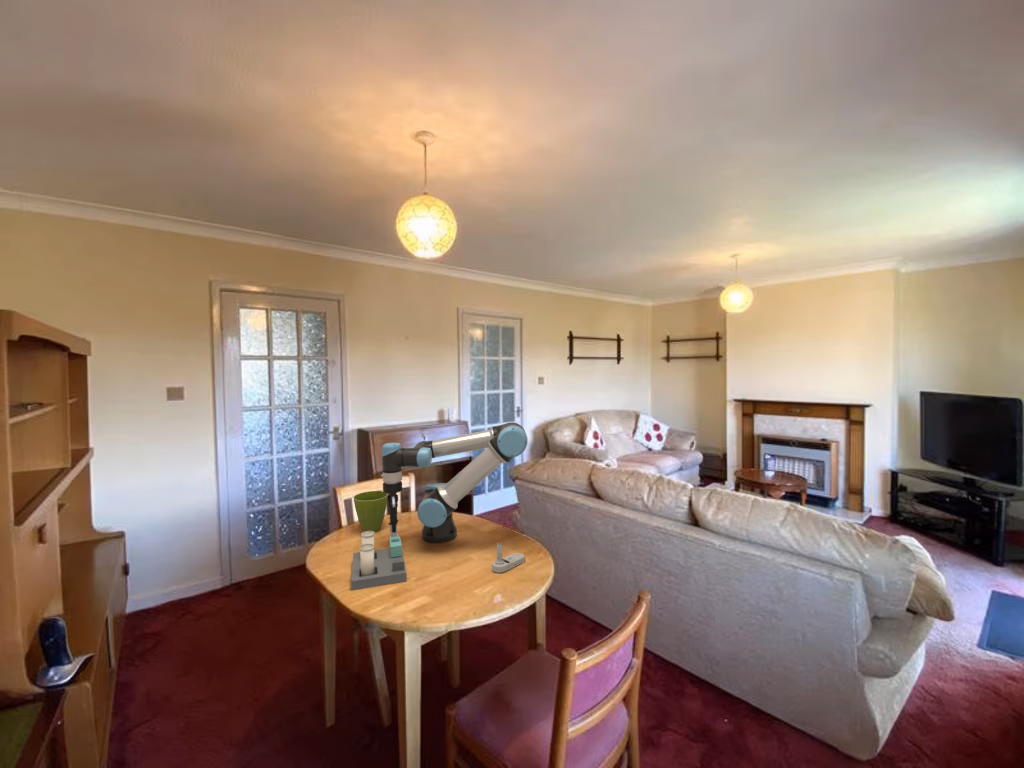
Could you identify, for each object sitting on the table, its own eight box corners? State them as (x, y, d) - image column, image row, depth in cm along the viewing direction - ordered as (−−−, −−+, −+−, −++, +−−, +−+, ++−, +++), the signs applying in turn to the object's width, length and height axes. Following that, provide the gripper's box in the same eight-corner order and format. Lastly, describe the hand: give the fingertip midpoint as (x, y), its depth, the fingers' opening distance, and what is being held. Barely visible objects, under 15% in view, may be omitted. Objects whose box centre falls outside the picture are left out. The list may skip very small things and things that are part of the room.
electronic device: (527, 536, 169) (499, 547, 158) (527, 562, 169) (499, 575, 158) (517, 533, 173) (489, 544, 162) (517, 558, 173) (489, 570, 162)
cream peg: (374, 575, 159) (373, 542, 159) (375, 581, 155) (374, 547, 154) (360, 578, 157) (359, 545, 157) (361, 584, 153) (360, 550, 152)
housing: (401, 553, 178) (401, 538, 177) (406, 581, 155) (406, 564, 155) (353, 560, 172) (353, 545, 172) (351, 590, 149) (350, 572, 149)
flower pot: (387, 534, 198) (386, 499, 197) (352, 538, 195) (351, 501, 194) (389, 523, 213) (388, 489, 212) (356, 526, 209) (355, 492, 209)
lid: (400, 545, 177) (399, 533, 177) (402, 555, 168) (401, 543, 168) (389, 547, 176) (389, 535, 176) (390, 557, 167) (390, 544, 166)
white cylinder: (375, 560, 172) (374, 530, 171) (375, 566, 167) (374, 534, 166) (362, 562, 170) (361, 531, 170) (361, 568, 166) (360, 536, 165)
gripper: (382, 478, 185) (383, 534, 186) (383, 486, 173) (385, 546, 174) (400, 476, 188) (402, 532, 189) (403, 484, 175) (404, 544, 176)
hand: (394, 539), depth 181 cm, fingers closed
